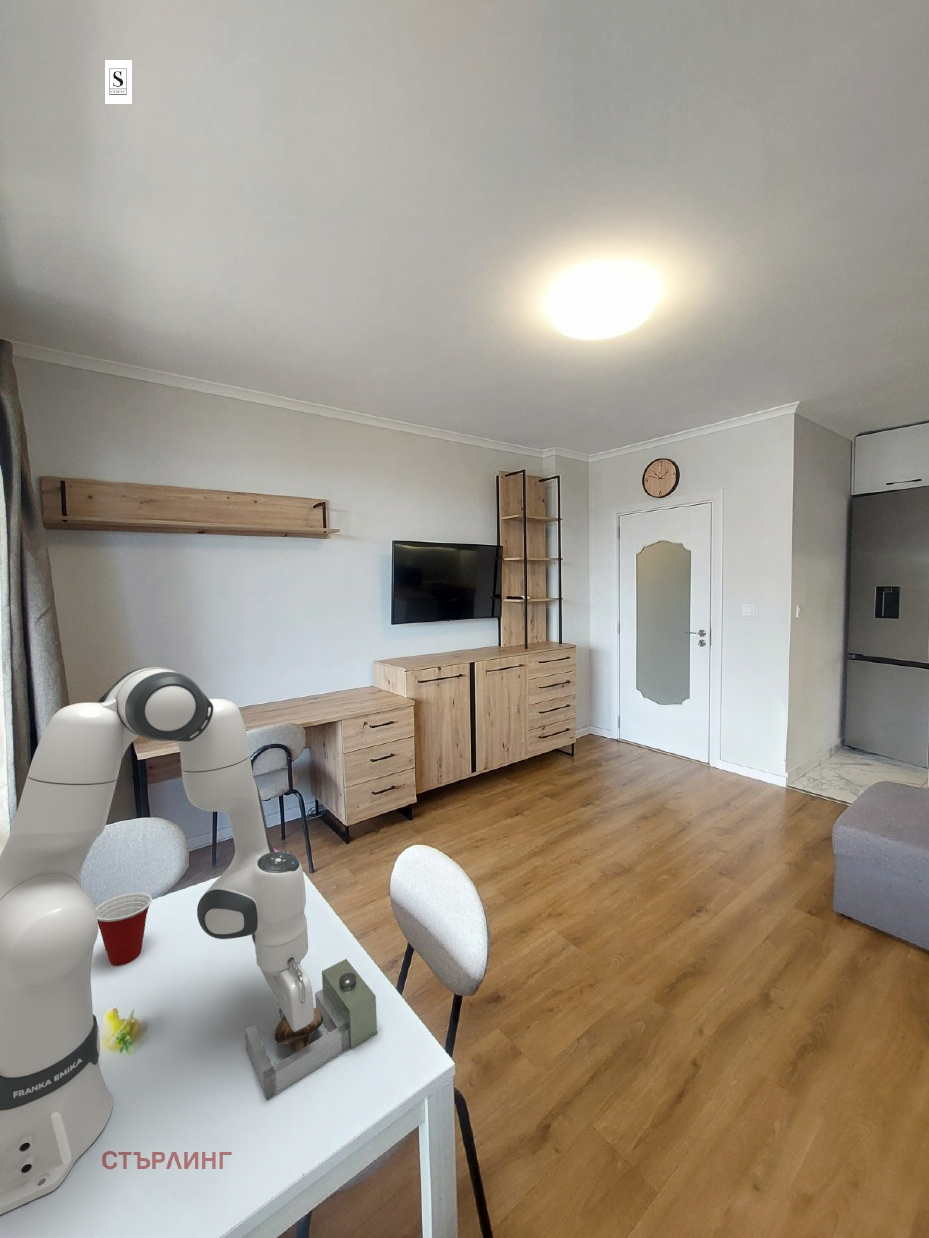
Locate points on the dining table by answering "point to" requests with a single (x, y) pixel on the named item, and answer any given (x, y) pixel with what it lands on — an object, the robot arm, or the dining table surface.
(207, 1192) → the dining table surface
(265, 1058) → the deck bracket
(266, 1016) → the dining table surface
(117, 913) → the plastic cup
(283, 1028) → the mushroom
